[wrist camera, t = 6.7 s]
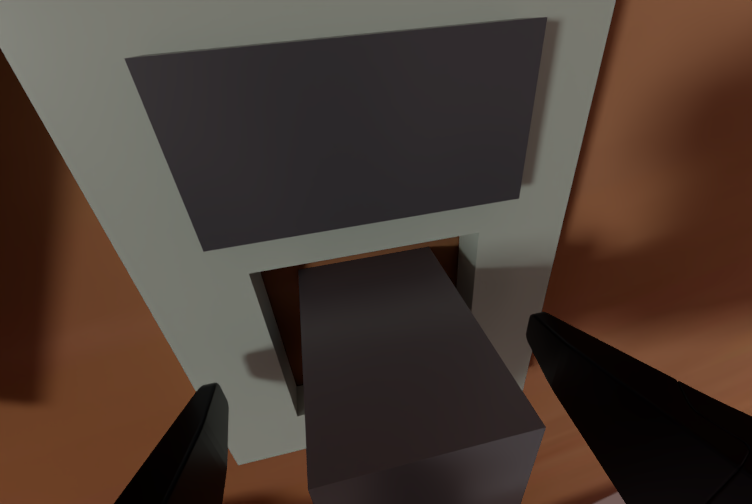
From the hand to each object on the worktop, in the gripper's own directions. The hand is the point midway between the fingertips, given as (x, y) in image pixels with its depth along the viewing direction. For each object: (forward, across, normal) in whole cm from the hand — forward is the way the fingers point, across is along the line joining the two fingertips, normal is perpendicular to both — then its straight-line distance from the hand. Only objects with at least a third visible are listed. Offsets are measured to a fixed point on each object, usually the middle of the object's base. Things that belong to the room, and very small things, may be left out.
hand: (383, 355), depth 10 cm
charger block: (+2, 0, 0) cm, 2 cm away
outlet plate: (+2, 0, -2) cm, 3 cm away
